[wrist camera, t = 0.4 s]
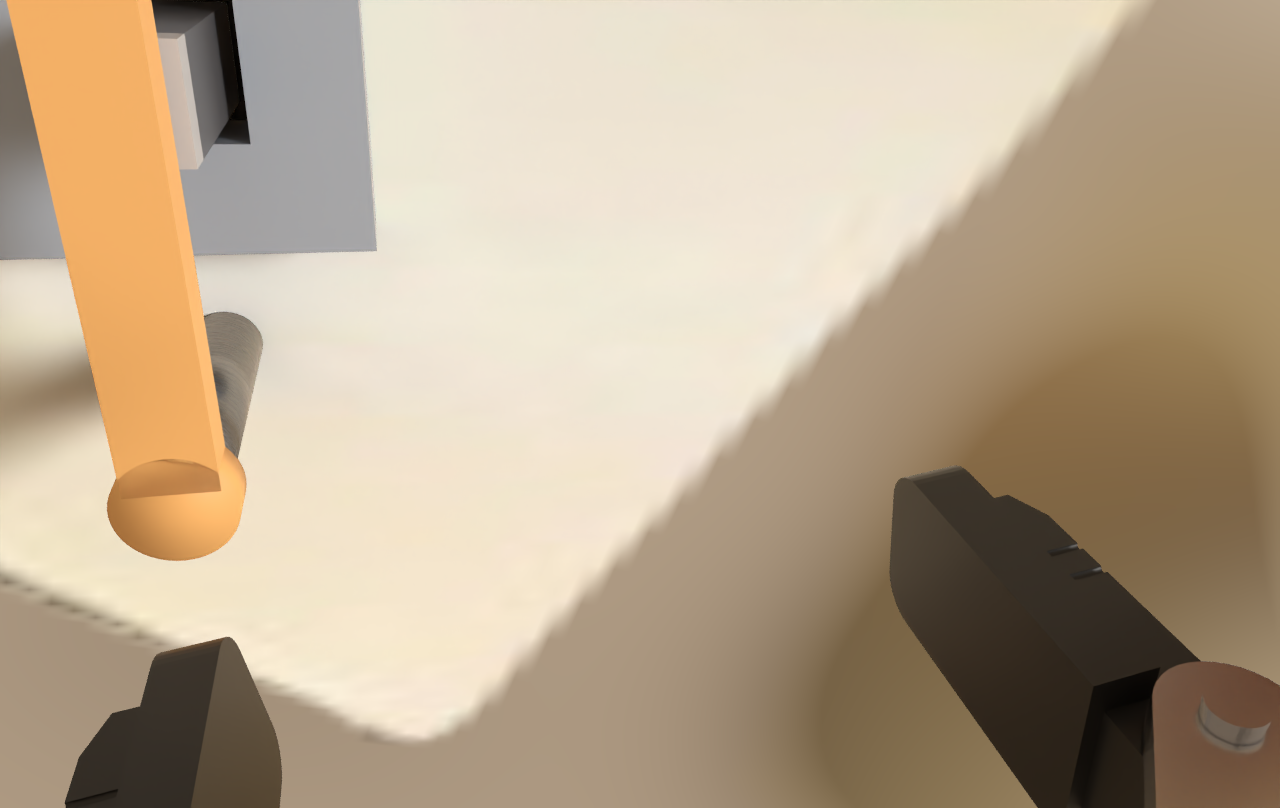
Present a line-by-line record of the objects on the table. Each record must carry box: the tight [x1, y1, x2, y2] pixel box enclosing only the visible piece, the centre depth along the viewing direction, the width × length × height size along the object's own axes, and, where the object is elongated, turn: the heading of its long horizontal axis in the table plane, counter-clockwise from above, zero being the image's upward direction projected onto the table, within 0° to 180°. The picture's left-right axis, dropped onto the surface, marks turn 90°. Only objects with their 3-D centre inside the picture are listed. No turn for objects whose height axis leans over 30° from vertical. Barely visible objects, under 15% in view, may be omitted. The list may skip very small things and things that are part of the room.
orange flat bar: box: [6, 0, 246, 561], centre depth 22 cm, size 18×3×1 cm, turn 176°
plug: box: [151, 0, 240, 170], centre depth 26 cm, size 3×3×9 cm
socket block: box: [0, 0, 377, 260], centre depth 28 cm, size 11×11×4 cm
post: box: [204, 312, 263, 459], centre depth 30 cm, size 2×2×9 cm
